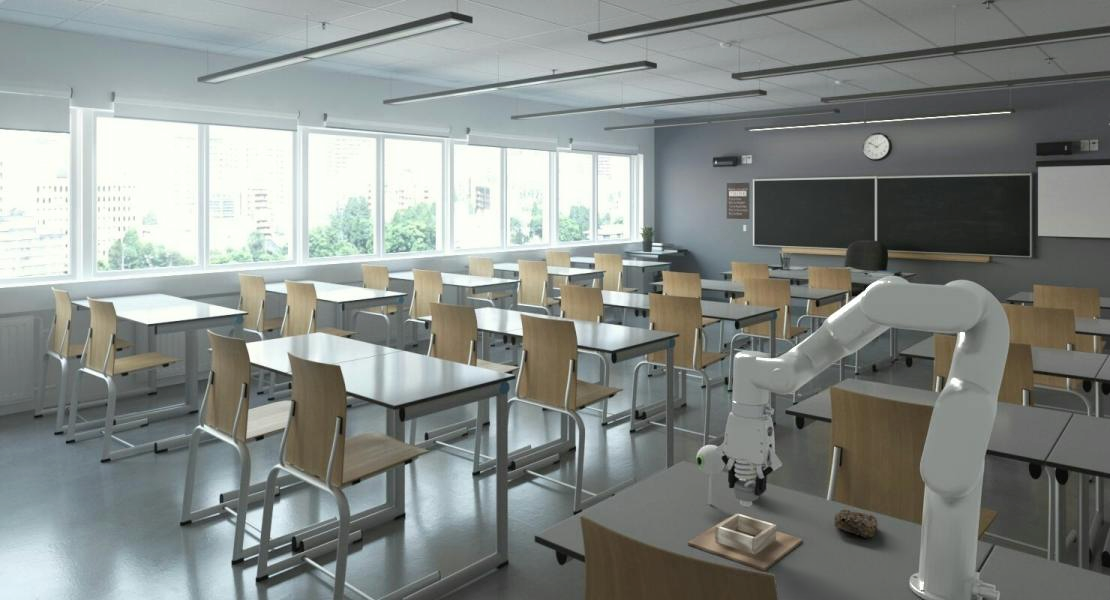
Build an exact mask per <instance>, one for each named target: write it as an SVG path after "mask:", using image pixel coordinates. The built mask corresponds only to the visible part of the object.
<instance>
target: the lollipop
mask: <svg viewBox="0 0 1110 600" xmlns="http://www.w3.org/2000/svg"><path fill="white" fill-rule="evenodd" d="M718 447H719V445H715V444H707V445H704V446H702V447H700V449H699V450H698V451H697V454H696V456H695V457H696V458H695V462H696V464H697V467H698V468H699V470H701V472H703V473H704V474H707V475H709V476H708V478H709V479H708V505H712V495H713V494H712V492H713V491H712V490H713V489H712V488H713V487H712V486H713V485H712V483H713V475H717V474H718V473H721V472H722V471H723V469H724V468H726V465H725V463H724V462H723V460H722V458H721V457H720V456H719V454H718V453H717V452H716V449H717V448H718Z"/></svg>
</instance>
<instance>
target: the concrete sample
mask: <svg viewBox="0 0 1110 600" xmlns="http://www.w3.org/2000/svg"><path fill="white" fill-rule="evenodd" d="M833 524H834V527H836V528H838V529H841V530H843V531H844V532H848V533H853V534H855V535H857V536H859V535H860V536H861V537H863V538H865V539H866V538H874V536H875V534H877V529H878V525H879V522H878V519H877V517H876V516H873V514H868V513H862V512H859V511H852V510H850V509H847V508H845V509H844V508H843V509H841V510H839V512H837V513H836V514H835V517H834V523H833Z"/></svg>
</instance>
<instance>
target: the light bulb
mask: <svg viewBox="0 0 1110 600" xmlns="http://www.w3.org/2000/svg"><path fill="white" fill-rule="evenodd" d="M735 461H736V462H737V463H735V467H736V468H735V469H734V471H735V472H736V473H735V476H736V477H737V478H739V480H738V481H736V482H735V484H734V488H733V490H734V491H733V492H734V494H733V495H734V497H735V498H736V499H738V500H739V503H740V505H741V506H742V507H744V508H749V507H751V506H752V505H753V502H754V501H757V500H758V498H759V497H760V495H759V496H756V495H755V483H756V478H757V477H758V473H757V469H756V465H755V464H750V462H748V461H747V460H740V459H735ZM752 468H754V470H753V469H752ZM747 474H754V475H750V476H748V475H747ZM753 478H755V479H753ZM740 479H746V480H740ZM750 479H753V480H750Z"/></svg>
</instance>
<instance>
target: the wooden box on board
mask: <svg viewBox="0 0 1110 600" xmlns="http://www.w3.org/2000/svg"><path fill="white" fill-rule="evenodd" d="M802 542H803V538H800V537H798V536H794V535H791V534H788V533H783V532H781V531H777V524H774V523H772V522H768V521H764V520H760V519H758V518H754V517H751V516H747V515H744V514H740V513H738V512H737V513H735V514H734V515H732V516H728V517H726V518H725V519H723V520H721V521H720V522H719V523H716V525H714V526H712V527H710V528H709V529H707V530H705V531H704V532H703V533H701V534H699V535H697V536H695V537H694V538H693V539H691V540H690V541H688V543H687V545H688V546H691V547H692V548H696V549H699V550H701V551H704V552H708V553H710V554H714V555H717V556H720V557H723V558H726V559H728V560H731V559H732V561H734V562H737V563H740V564H743V565H746V566H749V567H752V568H755V569H757V570H760V571H763V572H765V571H766V570H768V569H769V568H770V567H772V566H773V565H774V564H775V563H777V562H778V561H779V560H781V559H782V558H784V556H786V555H787V554H789V552H791V551H792V550H793V549H795V548H796V547H797V546H799V545H800V544H801V543H802Z"/></svg>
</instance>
